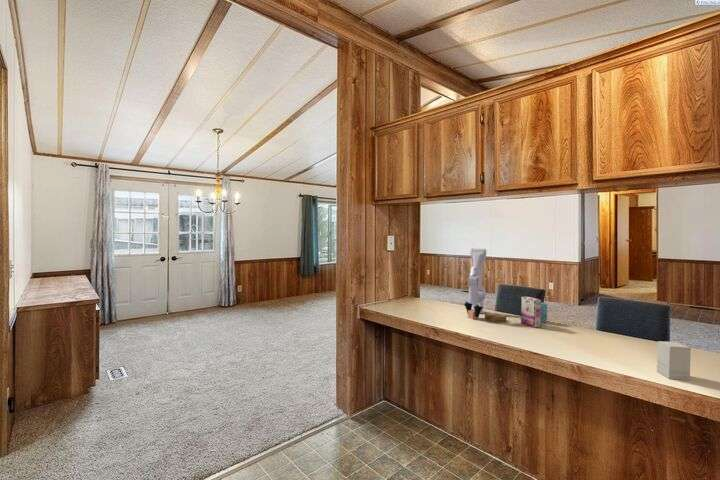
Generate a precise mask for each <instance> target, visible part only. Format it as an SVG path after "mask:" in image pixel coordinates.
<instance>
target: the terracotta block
mask: <svg viewBox="0 0 720 480" xmlns="http://www.w3.org/2000/svg"><path fill="white" fill-rule="evenodd" d="M467 318H468V319H470V320H479V317H476V316H475V310H468V314H467Z"/></svg>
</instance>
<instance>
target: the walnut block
mask: <svg viewBox="0 0 720 480" xmlns="http://www.w3.org/2000/svg"><path fill="white" fill-rule="evenodd" d="M484 320H486V321H489V322H492V323H503V322H507V316H506V315H503V314H500V313H496V312H494V313H484Z"/></svg>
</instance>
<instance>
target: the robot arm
mask: <svg viewBox="0 0 720 480" xmlns="http://www.w3.org/2000/svg"><path fill="white" fill-rule="evenodd" d="M469 254H470V258H471V260H472V266H471V267H470V271H469V272H470V273H469V276H468V277H467V284H468V298H466V299H464V303H463V305H464V307H465V309H466V313H467V315H468V310H475V316H476V317H478V318H479V317H480V315H481V314H487V313H486V311H484V300H486V297H487V296H486V294H487V293H486V288H485V286H483V285H482V280H483V277H482V276H483V264H484V262H486V260H487V249H486V248H471V249H470V253H469Z"/></svg>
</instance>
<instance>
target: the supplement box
mask: <svg viewBox="0 0 720 480" xmlns="http://www.w3.org/2000/svg"><path fill="white" fill-rule="evenodd" d="M656 345H657V347H656V349H657V351H656V353H657V354H656V356H657V357H656V372H657V373H658V372H659V374H660V375H662V376H664V377H665V378H667V379H670V380H679V379H680V380H682V381H690V380H691V350H692V349H691V347H690V346H687V345H684V344H683V343H680V342H678V341H666V340H665V341H661V340H660V341H657V344H656Z"/></svg>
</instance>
